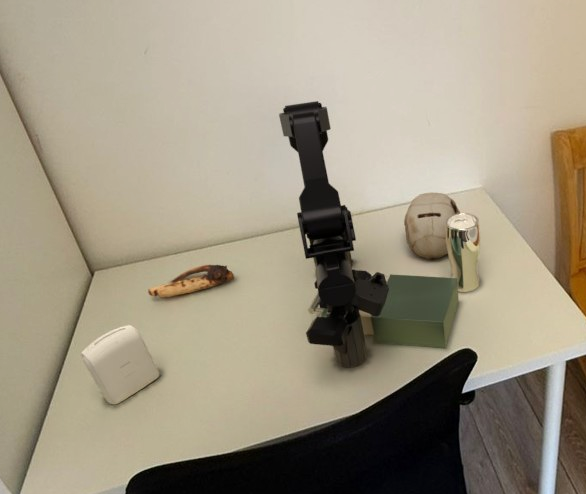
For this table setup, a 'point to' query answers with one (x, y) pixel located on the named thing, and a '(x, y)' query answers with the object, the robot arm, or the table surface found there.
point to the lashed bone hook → (193, 281)
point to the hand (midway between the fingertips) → (348, 342)
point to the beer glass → (463, 249)
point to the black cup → (353, 342)
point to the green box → (417, 311)
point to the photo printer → (120, 363)
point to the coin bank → (429, 224)
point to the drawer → (314, 308)
